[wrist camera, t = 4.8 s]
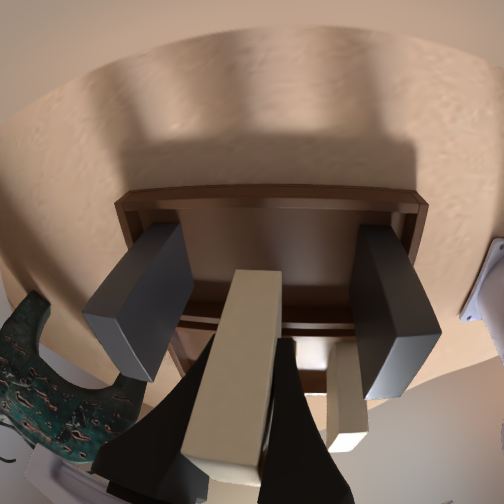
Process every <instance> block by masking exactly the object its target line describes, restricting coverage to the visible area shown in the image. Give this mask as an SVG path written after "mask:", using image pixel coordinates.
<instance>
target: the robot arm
mask: <svg viewBox="0 0 504 504" xmlns="http://www.w3.org/2000/svg"><path fill="white" fill-rule="evenodd" d="M459 319H460V321H461V322H467V321H476V320H483V321H484V323H485V325H486V327H487V329H488V331H489V333H490V336H491V338H492V340H493V342H494V344H495V347H496V349H497V351H498V354H499V356H500V358H501V361H502V363H503V366H504V239H501V238H496V239H494V240H493V242H492V243H491V246H490V249H489V252H488V254H487V257H486V259H485V262H484V265H483V267H482V269H481V272H480V274H479V276H478V279H477V281H476V283H475V285H474V288H473V290H472V292H471V294H470V296H469V298H468V300H467V302H466V304H465V306H464V308H463V310H462V312H461V314H460V316H459ZM215 335H216V333H214V334H213V335H212V336H211V338H210V340H209V341H208V343H207V345H206V346H205V348H204V349H203V351H202V352H201V354H200V355H199V357H198V358H197V360H196V361H195V362H194V364H193V365H192V366H191V368H190V369H189V370H188V372H187V373H186V374H185V376H184V377H183V378H182V379H181V380H180V382H179V383H178V384H177V385H176V386H175V387H174V389H173V390H172V391H171V392H170V393H169V394H168V395H167V396H166V397H165V398H164V399H163V400H162V401H161V402H160V403H159V404H158V405H157V406H156V407H155V408H154V409H153V410H152V411H151V412H150V413H148V414H147V415H146V416H145V417H144V418H143V419H141V420H140V421H139V422H137V423H136V424H135V425H133V426H132V427H131V428H129V429H128V430H126V431H125V432H124V433H122V434H121V435H119V436H117V437H116V438H114V439H112V440H111V441H109V442H107V443H105V444H104V445H102V446H100V448H99V450H98V452H97V454H96V456H95V459H94V461H93V464H92V467H91V471H92V472H93V473H95V474H97V475H99V476H101V477H103V478H105V479H108V480H110V481H109V483H107V482H105V481H103V480H101V479H98V478H97V477H95V476H93V475H91V474H89V473H87V472H85V471H83V470H82V469H80V468H79V467H78V466H76V465H74V464H73V463H71V462H69V461H67V460H66V459H64V458H62V457H61V456H59V455H56V454H55V453H53V452H52V451H50V450H49V449H47V448H46V447H44V446H42V445H41V444H39V443H37V444H36V447H35V449H34V451H33V454H32V456H31V458H30V461H29V463H28V466H27V468H26V471H25V474H24V478H25V479H27V480H28V481H29V482H30V483H31V484H32V485H34V486H35V487H36V488H37V489H38V490H40V491H41V492H42V493H43V494H44V495H45V496H46V497H48V498H49V499H50V500H51V501H52V502H53V503H54V504H196V503H197V504H201V503H203V502H205V501H206V500H207V493H208V484H209V476H208V475H207V474H206V473H205V472H203V471H202V470H201V469H199V468H198V467H197V466H196V465H194V464H193V463H192V462H191V461H190V460H188V459H187V458H186V457H185V456H184V455H183V454H181V448H182V444H183V441H184V438H185V434H186V431H187V427H188V424H189V421H190V417H191V414H192V411H193V407H194V404H195V401H196V397H197V394H198V391H199V387H200V384H201V381H202V377H203V374H204V371H205V367H206V364H207V361H208V358H209V354H210V351H211V348H212V344H213V341H214V338H215ZM501 443H502V449H503V454H504V421H503V425H502V431H501ZM257 503H258V504H355V502H354V498H353V495H352V492H351V489H350V487H349V485H348V484H347V482H346V481H345V479H344V477H343V476H342V475H341V473H340V471H339V470H338V468H337V466H336V464H335V463H334V461H333V459H332V458H331V456H330V454H329V452H328V450H327V448H326V446H325V444H324V442H323V440H322V438H321V436H320V433H319V431H318V429H317V427H316V424H315V422H314V420H313V417H312V414H311V412H310V409H309V406H308V403H307V401H306V398H305V394H304V391H303V388H302V384H301V380H300V377H299V373H298V368H297V363H296V357H295V349H294V340H293V339H292V338H277V345H276V352H275V360H274V404H273V414H272V421H271V428H270V434H269V441H268V447H267V453H266V459H265V465H264V470H263V476H262V481H261V486H260V491H259V496H258V501H257ZM442 504H453V501H448V502H445V503H442Z"/></svg>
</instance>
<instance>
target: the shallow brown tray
mask: <svg viewBox="0 0 504 504" xmlns="http://www.w3.org/2000/svg"><path fill="white" fill-rule="evenodd" d="M218 325H219V324H215V323H205V322H195V321H185V320H179V322H178V324H177V327H176V329H175V331H174V334H173V336H172V338H171V341H170V343H169V346H168V348H167V349H168V351H169V353H170V355H171V357H172V359H173V361H174V363H175V365H176V367H177V369H178V371H179V373H180V375H181V377H182V378H183V377H184V376H185V374H186V373H187V372H188V370H189V369H190V368H191V366H192V365H193V364H194V362H195V361H196V360H197V358H198V357H199V355H200V354H201V352H202V351H203V349H204V348H205V346H206V345H207V343H208V341H209V340H210V338H211V336H212V335H213V334H214V333H216V331H217V328H218ZM281 338H292V339H293V340H294V341H297V348H296V363H297V368H298V373H299V377H300V380H301V384H302V388H303V391H304V394H305V395H307V396H327V376H326V372H327V368H328V365H329V361H330V357H331V353H332V349H333V345H334V342H356V334H355V329H301V328H281Z"/></svg>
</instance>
